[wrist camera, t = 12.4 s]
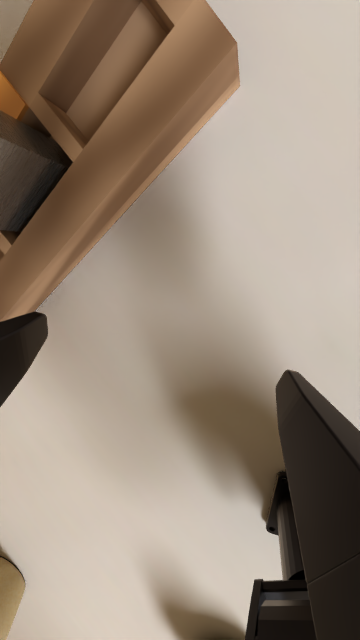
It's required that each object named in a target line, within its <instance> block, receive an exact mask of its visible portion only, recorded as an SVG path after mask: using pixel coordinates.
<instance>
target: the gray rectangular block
mask: <svg viewBox="0 0 360 640" xmlns="http://www.w3.org/2000/svg"><path fill="white" fill-rule="evenodd" d="M72 163H73V161H72V160H71V159H70V158H69V156H68V155H67V154H66V153H65V151H64V150H63V149H62V148H61V146H60V145H59V144H58V143H57V142H56V141H55V140H53V139H51V138H49V137H48V136H46V135H44V134H42V133H40V132H39V131H37V130H35V129H33V128H31V127H30V126H28V125H26V124H24V123H23V122H21V121H19V120H17V119H15V118H14V117H12V116H10V115H8V114H6V113H5V112H3V111H1V110H0V230H5V231H18V232H22V231H23V230H24V228H25V227H26V225H27V224H28V223H29V221H30V220H31V219H32V217H33V216H34V215H35V213H36V212H37V211H38V209H39V208H40V207H41V205H42V204H43V203H44V201H45V200H46V199H47V197H48V196H49V194H50V193H51V192H52V190H53V189H54V188H55V186H56V185H57V184H58V182H59V181H60V180H61V178H62V177H63V176H64V174H65V173H66V172H67V170H68V169H69V168H70V166H71V165H72Z"/></svg>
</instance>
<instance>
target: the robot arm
mask: <svg viewBox="0 0 360 640" xmlns="http://www.w3.org/2000/svg"><path fill="white" fill-rule="evenodd" d="M47 336H48V326H47V317H46V315H45V314H43V313H38V312H31V313H27V314H24V315H21V316H18V317H14V318H11V319H8V320H5V321H1V322H0V407H1V406H2V404H3V403H4V402H5V400H6V399H7V398H8V396H9V395H10V394H11V392H12V391H13V390H14V388H15V387H16V386H17V384H18V383H19V382H20V380H21V379H22V378H23V376H24V375H25V374H26V372H27V371H28V369H29V367H30V366H31V364H32V362H33V361H34V359H35V357H36V356H37V354H38V352H39V350H40V349H41V347H42V345H43V344H44V342H45V340H46V339H47ZM276 403H277V417H278V429H279V435H280V440H281V446H282V451H283V457H284V462H285V468H286V472H283V471H282V472H279V473H278V475H277V479H276V483H275V487H274V491H273V495H272V500H271V504H270V508H269V512H268V516H267V521H266V529H267V531H268V532H270V533H272V534H275V535H278V536H279V544H280V554H281V565H282V575H283V580H274V581H263V579H255V580H254V586H253V592H252V596H251V603H250V610H249V616H248V623H247V630H246V636H245V640H360V431H359V430H358V429H357V428H356V427H355V426H354V425H353V424H352V423H351V422H350V421H349V420H348V419H347V418H345V417H344V416H343V415H342V414H341V413H340V412H339V411H338V410H337V409H336V408H335V407H334V406H333V405H332V404H331V403H330V402H329V401H328V400H327V399H326V398H325V397H324V396H322V395H321V394H320V393H319V392H318V391H317V390H316V389H315V388H314V387H313V386H312V385H311V384H310V383H309V382H308V381H307V380H306V379H305V378H304V377H303V376H302V375H301V374H299V373H298V372H296V371H292V370H286V371H285V372H284V373H283V375H282V377H281V378H280V380H279V382H278V383H277V386H276ZM282 478H286V479H282Z"/></svg>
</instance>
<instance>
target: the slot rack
mask: <svg viewBox="0 0 360 640" xmlns="http://www.w3.org/2000/svg"><path fill="white" fill-rule="evenodd" d="M239 86H240V80H239V65H238V50H237V42H236V41H235V39H234V38H233V37H232V35H231V34H230V33H229V31H228V30H227V29H226V27H225V26H224V25H223V23H222V22H221V21H220V19H219V18H218V17H217V15H216V14H215V13H214V11H213V10H212V8H211V7H210V6H209V4H208V3H207V2H206V0H34V1H33V3H32V5H31V6H30V8H29V10H28V12H27V14H26V16H25V18H24V20H23V22H22V24H21V26H20V28H19V29H18V31H17V33H16V35H15V37H14V39H13V41H12V43H11V45H10V47H9V49H8V50H7V52H6V54H5V56H4V58H3V60H2V62H1V64H0V110H1V111H3V112H5V113H6V114H8V115H10V116H12V117H14V118H15V119H17V120H19V121H21V122H23V123H24V124H26V125H28V126H30V127H31V128H33V129H35V130H37V131H39V132H40V133H42V134H44V135H46V136H48V137H49V138H51V139H53V140H55V141H56V142H57V143H58V144H59V145H60V146H61V148H62V149H63V150H64V151H65V153H66V154H67V155H68V156H69V158H70V159H71V160H72V161H73V163H72V165H71V166H70V168H69V169H68V170H67V172H66V173H65V174H64V176H63V177H62V178H61V180H60V181H59V182H58V184H57V185H56V186H55V188H54V189H53V190H52V192H51V193H50V194H49V196H48V197H47V199H46V200H45V201H44V203H43V204H42V205H41V207H40V208H39V209H38V211H37V212H36V213H35V215H34V216H33V217H32V219H31V220H30V221H29V223H28V224H27V225H26V227H25V228H24V230H23V231H22V232H18V231H5V230H0V322H1V321H5V320H8V319H11V318H14V317H18V316H21V315H24V314H27V313H31V312H34V311H35V310H36V309H37V308H38V307H39V305H40V304H41V303H42V302H43V301H44V300H45V299H46V298H47V297H48V296H49V295H50V293H51V292H52V291H53V290H54V289H55V288H56V287H57V286H58V285H59V284H60V282H61V281H62V280H63V279H64V278H65V277H66V276H67V275H68V274H69V273H70V272H71V270H72V269H73V268H74V267H75V266H76V265H77V264H78V263H79V262H80V261H81V259H82V258H83V257H84V256H85V255H86V254H87V253H88V252H89V251H90V250H91V249H92V247H93V246H94V245H95V244H96V243H97V242H98V241H99V240H100V239H101V238H102V236H103V235H104V234H105V233H106V232H107V231H108V230H109V229H110V228H111V227H112V225H113V224H114V223H115V222H116V221H117V220H118V219H119V218H120V217H121V216H122V215H123V213H124V212H125V211H126V210H127V209H128V208H129V207H130V206H131V205H132V204H133V202H134V201H135V200H136V199H137V198H138V197H139V196H140V195H141V194H142V193H143V192H144V190H145V189H146V188H147V187H148V186H149V185H150V184H151V183H152V182H153V181H154V179H155V178H156V177H157V176H158V175H159V174H160V173H161V172H162V171H163V170H164V169H165V167H166V166H167V165H168V164H169V163H170V162H171V161H172V160H173V159H174V158H175V156H176V155H177V154H178V153H179V152H180V151H181V150H182V149H183V148H184V147H185V146H186V144H187V143H188V142H189V141H190V140H191V139H192V138H193V137H194V136H195V135H196V133H197V132H198V131H199V130H200V129H201V128H202V127H203V126H204V125H205V124H206V123H207V121H208V120H209V119H210V118H211V117H212V116H213V115H214V114H215V113H216V112H217V110H218V109H219V108H220V107H221V106H222V105H223V104H224V103H225V102H226V101H227V99H228V98H229V97H230V96H231V95H232V94H233V93H234V92H235V91H236V90H237V89H238V87H239Z"/></svg>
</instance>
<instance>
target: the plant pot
mask: <svg viewBox="0 0 360 640" xmlns="http://www.w3.org/2000/svg"><path fill="white" fill-rule="evenodd" d="M24 590H25V582H24V579H23V577H22V575H21V574H20V572H19V571H18V570H17V569H16V568H15V567H14V566H13V565H12V564H11V563H10V562H8V561H7V560H5V559H3V558H1V557H0V640H6V638H7V636H8V633H9V631H10V628H11V625H12V623H13V620H14V618H15V615H16V612H17V610H18V607H19V604H20V601H21V599H22V596H23V593H24Z"/></svg>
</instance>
